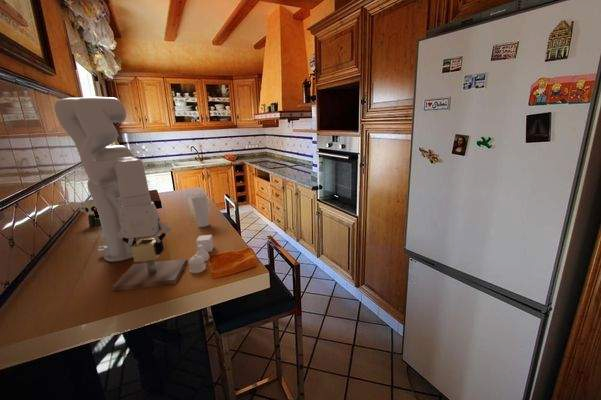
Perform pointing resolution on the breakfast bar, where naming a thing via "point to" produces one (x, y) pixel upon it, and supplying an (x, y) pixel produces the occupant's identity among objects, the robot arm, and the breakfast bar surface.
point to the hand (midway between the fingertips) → (148, 253)
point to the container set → (201, 253)
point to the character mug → (90, 212)
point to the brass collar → (144, 250)
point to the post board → (151, 274)
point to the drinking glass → (201, 209)
